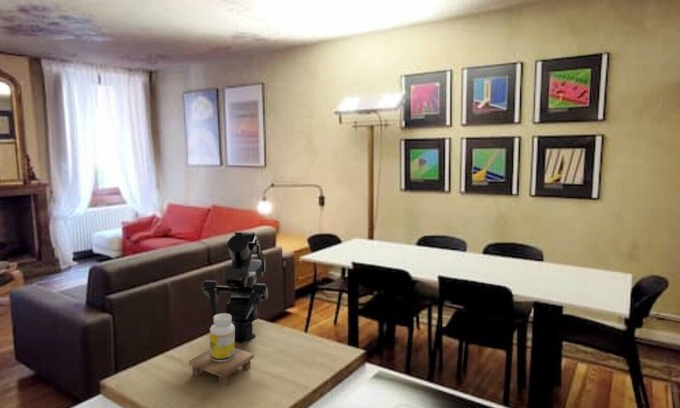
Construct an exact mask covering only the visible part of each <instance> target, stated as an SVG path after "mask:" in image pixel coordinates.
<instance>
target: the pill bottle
mask: <svg viewBox="0 0 680 408" xmlns="http://www.w3.org/2000/svg"><path fill="white" fill-rule="evenodd" d="M231 321H232V316H231V315H230V314H227V313H226V312H223V313H216V315H215V316H214V317H213V324H212V325H211V326H210V328H209V349H210V357H211V359H212V360H214V361H217V362H224V361H228V360H230V359H232V358H233V356H234V348H235V342H236V341H235V327H234V325H233V324H232V323H231Z"/></svg>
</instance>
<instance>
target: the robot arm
mask: <svg viewBox="0 0 680 408" xmlns="http://www.w3.org/2000/svg"><path fill="white" fill-rule="evenodd" d="M259 242H260V239H259V238H258V235H256V233H255V232H253V231H235V232H234V234H233V235H232V236H230V238H229V240H228V241H227V247H228V248H227V249H228V252H229V254H230V258H231V263H230V266H229V267H225V268H224V269H223V276H222V280H224V283H225V284H226V285H224V284H222V285H221V284H219V283H218V281H217V280H211V279H208V280H207V279H205V280H204V281H202V284H201V288H200V289H201V290H202V293H203V294H204V296H206V297H207V298H208V299H209V300H210V305H211V314H212V318H214V316H215V315H217V311H218V306H219V305H218V304H219V300H220V297H219V294H220V293H231V295H230V297H229V300H228V301H227V302H226V308H225V313H227V314H230V315H231V316H232V321H231V323H232V324H233V325H234V327H235V342H237V343H239V344H241V343H245V342H246V341H249V340H250V339H253V338H255V337H256V334H254V333H253V322H255V321H256V320H258V310H257V305H258V304H259V303H262V302H263V300H264V301H266V300H268V296H269V289H268V287H267V286H268V285H267V284H266V283H257V280H259V279H262V278H263V276H264V273H266V269H267V268H266V266H267V265H266V263H267V262H266V255H265V254H264V252H263V251H262V250H261V244H259ZM253 255H256V256H257V257H258V259H252V258H253Z"/></svg>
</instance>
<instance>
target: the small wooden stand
mask: <svg viewBox="0 0 680 408" xmlns="http://www.w3.org/2000/svg"><path fill="white" fill-rule="evenodd" d="M254 356H255V355H254V353H251V352H249V351H246V350H242V349H239V348H236V347H234V356H233V358H232V359H230V360H228V361H224V362H217V361H214V360H212V359H211V357H210V348H209V349H208V350H205V351H204V352H203V353H201V354H199V355H197V356H195V357H194V358H191V359H189V360H188V366H191V367H192V375H193V376H196V377H198V376H199V375H201V374H202V371H205V372H208V373H210V374H211V375H215V376H218V385H220V386H222V387H224V386H227V385H228V383H229V375H230V374H232V373H233V372H235V371H237V370H239V368H241V369H242V370H245V371H248V370H249V369H251V361H252V360H253V359H254Z"/></svg>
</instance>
